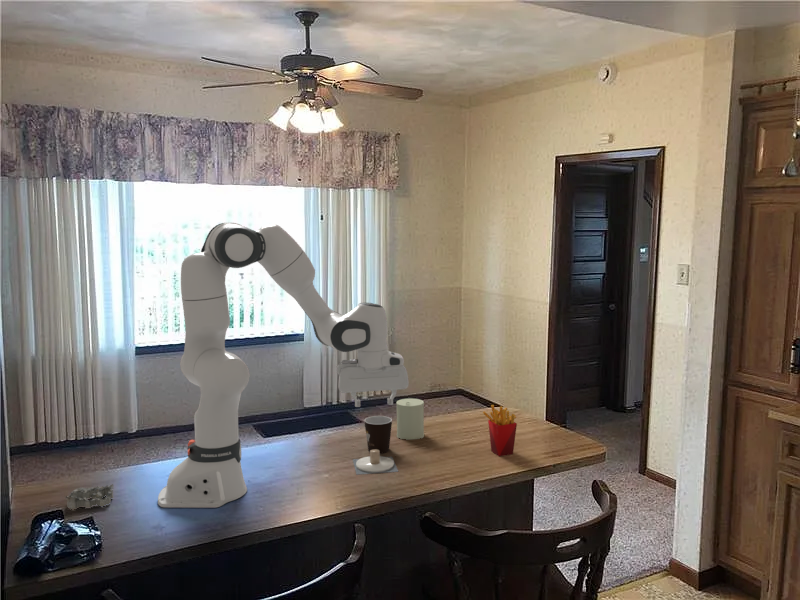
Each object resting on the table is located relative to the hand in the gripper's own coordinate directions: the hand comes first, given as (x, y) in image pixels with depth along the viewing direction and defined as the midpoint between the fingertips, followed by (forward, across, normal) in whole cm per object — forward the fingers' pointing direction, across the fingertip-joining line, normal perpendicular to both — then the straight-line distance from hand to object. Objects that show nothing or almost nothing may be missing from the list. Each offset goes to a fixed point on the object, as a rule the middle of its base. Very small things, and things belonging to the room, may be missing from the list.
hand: (374, 405), depth 194 cm
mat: (+18, 0, -1) cm, 18 cm away
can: (+19, +14, +24) cm, 34 cm away
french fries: (+19, +39, +2) cm, 43 cm away
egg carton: (+18, -75, -13) cm, 78 cm away
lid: (+18, 0, -1) cm, 18 cm away
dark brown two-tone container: (+19, +2, +13) cm, 23 cm away
